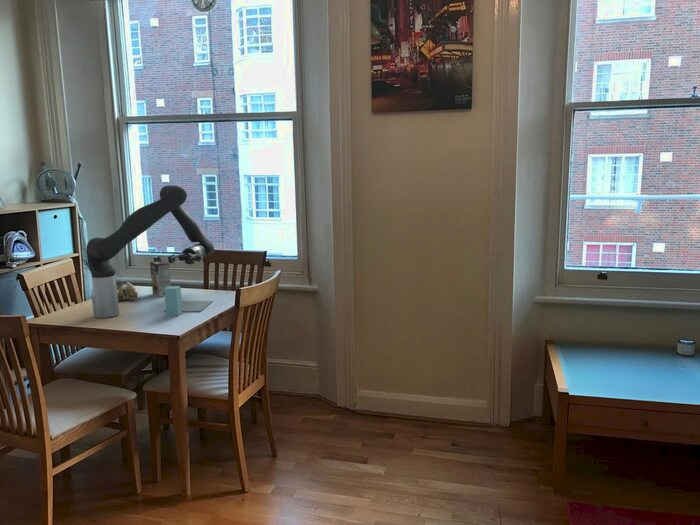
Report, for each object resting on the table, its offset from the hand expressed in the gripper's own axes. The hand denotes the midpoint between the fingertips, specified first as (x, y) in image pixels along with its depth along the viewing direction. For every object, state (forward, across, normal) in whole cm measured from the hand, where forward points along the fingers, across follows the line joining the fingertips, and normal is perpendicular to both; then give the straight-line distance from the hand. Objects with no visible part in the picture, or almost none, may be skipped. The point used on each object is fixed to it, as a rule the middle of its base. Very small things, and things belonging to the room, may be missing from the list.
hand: (180, 261), depth 241 cm
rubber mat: (-2, +2, +21) cm, 21 cm away
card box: (+11, 0, +21) cm, 24 cm away
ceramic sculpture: (-18, -34, +22) cm, 44 cm away
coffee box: (-27, -20, +22) cm, 40 cm away
